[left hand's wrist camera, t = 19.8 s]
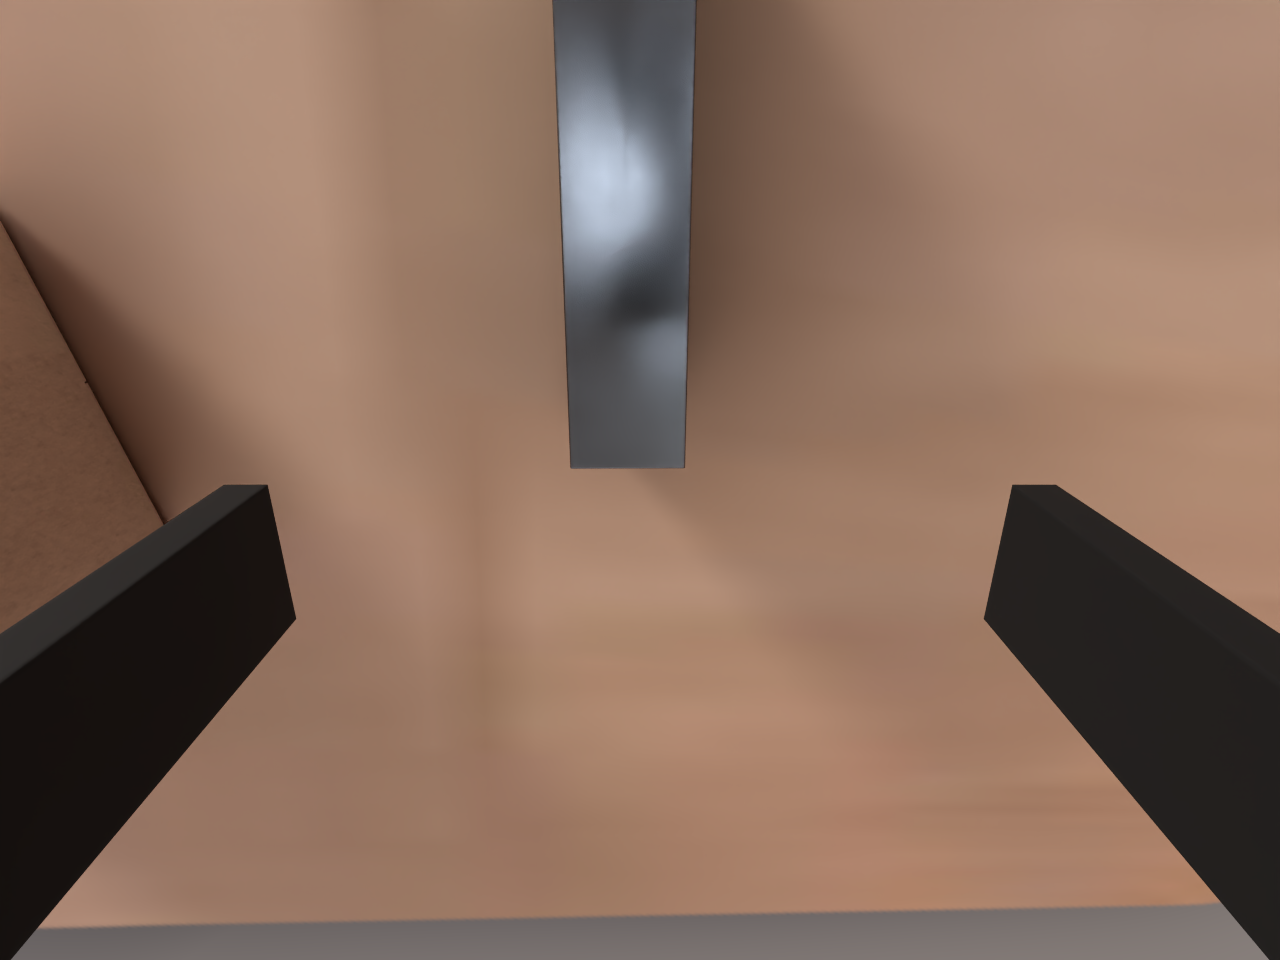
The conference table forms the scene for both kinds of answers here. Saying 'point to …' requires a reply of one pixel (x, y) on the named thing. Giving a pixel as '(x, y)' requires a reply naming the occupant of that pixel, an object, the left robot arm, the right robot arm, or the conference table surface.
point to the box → (54, 459)
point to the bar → (626, 225)
